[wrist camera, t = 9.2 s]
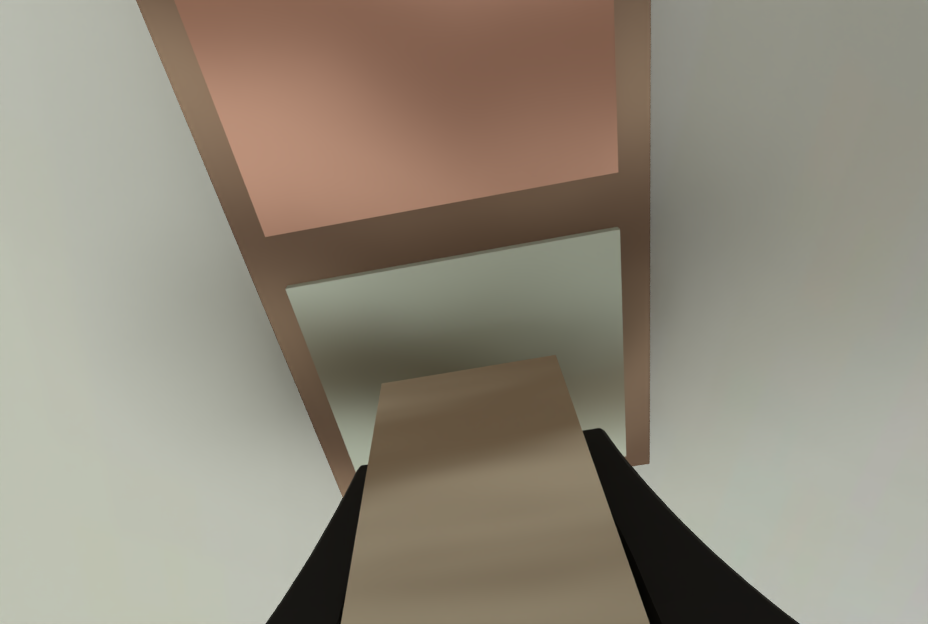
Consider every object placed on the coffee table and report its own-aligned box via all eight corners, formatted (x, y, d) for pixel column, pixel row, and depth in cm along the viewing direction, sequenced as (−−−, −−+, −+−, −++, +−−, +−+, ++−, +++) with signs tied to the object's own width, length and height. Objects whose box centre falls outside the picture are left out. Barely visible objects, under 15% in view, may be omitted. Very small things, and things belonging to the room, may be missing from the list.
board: (78, -205, 9) (32, -235, 8) (630, -333, 9) (656, -382, 8) (353, 487, 18) (347, 515, 17) (638, 441, 17) (651, 468, 16)
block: (381, 383, 12) (332, 672, 6) (555, 354, 12) (650, 627, 6) (419, 502, 14) (405, 799, 8) (568, 479, 13) (650, 769, 8)
